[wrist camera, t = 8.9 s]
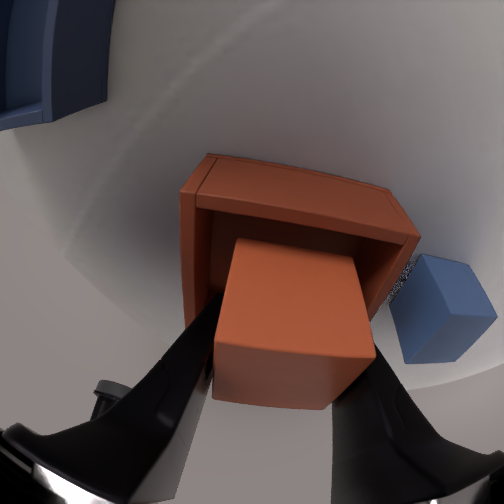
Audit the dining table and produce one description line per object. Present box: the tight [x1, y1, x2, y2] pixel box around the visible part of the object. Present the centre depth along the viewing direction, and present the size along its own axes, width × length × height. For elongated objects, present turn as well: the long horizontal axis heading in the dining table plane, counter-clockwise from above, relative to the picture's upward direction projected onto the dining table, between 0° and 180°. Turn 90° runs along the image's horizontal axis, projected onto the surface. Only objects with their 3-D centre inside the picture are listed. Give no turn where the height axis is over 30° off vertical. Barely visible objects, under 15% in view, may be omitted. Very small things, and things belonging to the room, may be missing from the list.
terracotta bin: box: [180, 154, 421, 329], centre depth 11 cm, size 8×8×3 cm
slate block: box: [389, 254, 498, 364], centre depth 12 cm, size 4×4×4 cm
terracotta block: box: [212, 238, 376, 410], centre depth 9 cm, size 4×4×4 cm
